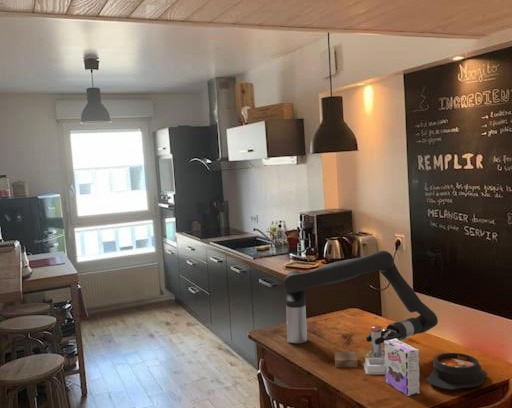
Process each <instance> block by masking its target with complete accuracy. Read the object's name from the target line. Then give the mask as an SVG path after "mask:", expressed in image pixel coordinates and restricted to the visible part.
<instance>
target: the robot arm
mask: <svg viewBox="0 0 512 408" xmlns="http://www.w3.org/2000/svg"><path fill="white" fill-rule="evenodd" d="M371 272H372V273H373V272H380V274H381V275H382V276H384V278H385V279H386V280H387V281H388V282H389V285H391V287H392V289H393V290H394V291H395V293H396V294H397V296H398V298H399V300H400V301H401V303H402V304H403V305H404V306H405V308H406V309H407V311H408V312H409V313H415V312H417V313H418V314H419V315H418V316H416V317H409V318H407V319H403V320H399V321H394V322H392V323H390V324H388V325H387V326H386V327H385V328H382V329H381V337H380V338H377V339H375V344H376V345H378V344H381V343H382V344H384V341H386V340H390V339H395V338H396V339H398V340H400V341H402V340H406V339H409V338H411V337H413V336H414V335H415V336H416V335H420V334H423V333H426V332H428V331H429V330H431V329H433V328H434V327H436V326H437V325H438V324H439V323H438V322H439V320H438V316H437V314H436V313H435V312H434V311H433V310H432V309H431V308H429V307H428V306H427V305H426V304H425V303H424V302H423V301H421V299H420V297H419V295H417V293H416V292H415V291H414V289H413V288H412V287H411V285H410V284H409V283H408V282H407V281H406V280H405V279H404V277H403V276H402V274H401V273H400V272H399V269H398V267H397V266H396V263H395V259H394V256H393V255H392V254H391V253H390V252H389V251H387V250H378V251H376V252H373V253H370V254H366V255H365V256H361V257H356V258H349V259H344V260H337V261H334V262H330V263H328V264H327V263H326V264H324V265H322V266H319V267H318V268H316V269H314V270H311V271H307V272H306V271H304V272H301V271H299V270H291V271H289V272H288V273H287V274H286V276H285V277H284V280H283V287H284V289H285V290H286V295H285V308H286V309H285V310H286V311H285V312H286V313H285V314H286V336H287V337H286V338H287V339H286V340H287V343H291V344H304V343H307V341H308V335H307V334H308V333H307V332H308V331H307V326H308V325H307V313H306V312H307V311H306V306H307V305H306V300H307V299H306V296H307V295H306V290H308V289H311V288H315V287H319V286H325V285H331V284H336V283H340V282H345V281H348V280H350V279H354V278H356V277H358V276H360V275H364V274H367V273H371ZM369 333H370V334H369V335H367V336H366V337H365V338H366V340H365V341H366V342H368V343H369V342H371V331H369Z"/></svg>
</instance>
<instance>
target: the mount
mask: <svg viewBox="0 0 512 408" xmlns="http://www.w3.org/2000/svg"><path fill="white" fill-rule="evenodd" d="M333 353H334V354H333V355H334V365H335V368H358V366H359V365H358V356H357V352H356V351H334V352H333Z"/></svg>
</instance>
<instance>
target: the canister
mask: <svg viewBox="0 0 512 408" xmlns="http://www.w3.org/2000/svg"><path fill="white" fill-rule="evenodd" d="M381 330H382V327H381V325H375V324H374V325H373V324H372V325H371V326H370V332H371V341H370V342H371V358H383V350H382V349H383V345H382V344H383V343H381V344H378V345H376V344H375V339H377V338H380V337H381Z"/></svg>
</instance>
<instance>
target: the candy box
mask: <svg viewBox="0 0 512 408" xmlns="http://www.w3.org/2000/svg"><path fill="white" fill-rule="evenodd" d="M383 351H384V353H383V354H384V358H385V374H384V376H385V377H384V378H385V379H384V380H385V381H384V382H385V383H386V384H388V385H389V386H391V387H393V388H394V389H395V390H397V391H399V392H400V393H401V394H403V395H404V396H406V397H410V396H415V395H420V392H421V391H420V390H421V389H420V388H421V387H420V385H421V384H420V350H419V348H415V347H414V346H411V345H409V344H407V342H403V341H402V340H401V341H400V340H398V339H396V338H395V339H390V340H386V341H384V343H383Z"/></svg>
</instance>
